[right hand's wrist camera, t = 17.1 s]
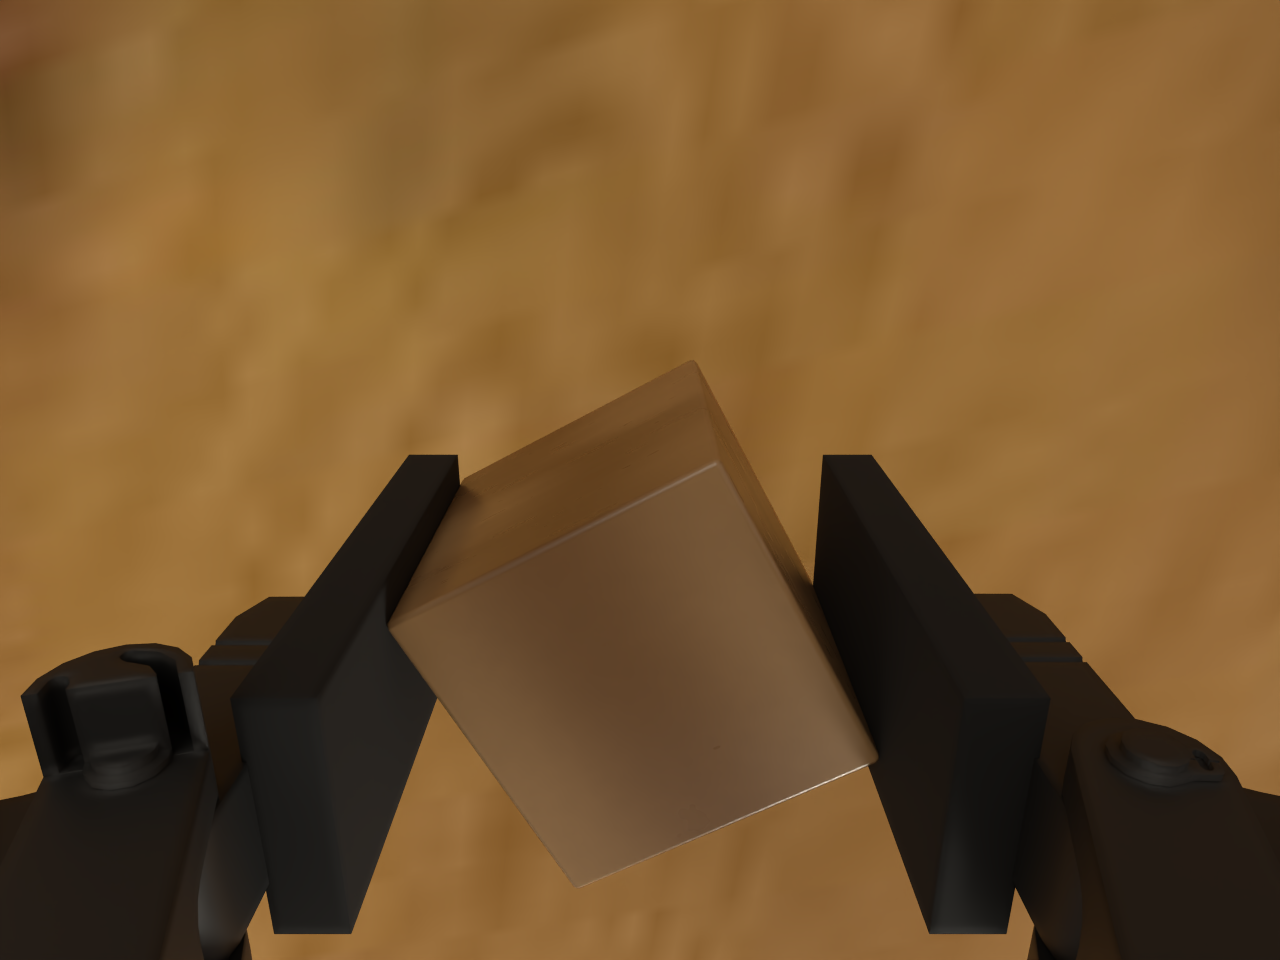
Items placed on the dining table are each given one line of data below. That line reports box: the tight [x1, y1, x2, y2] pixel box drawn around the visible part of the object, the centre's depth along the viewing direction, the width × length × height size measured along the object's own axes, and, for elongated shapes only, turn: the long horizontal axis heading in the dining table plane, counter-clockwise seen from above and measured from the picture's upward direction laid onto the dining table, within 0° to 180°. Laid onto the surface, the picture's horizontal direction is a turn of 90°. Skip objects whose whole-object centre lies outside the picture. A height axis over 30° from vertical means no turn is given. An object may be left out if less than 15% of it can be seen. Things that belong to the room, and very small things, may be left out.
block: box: [387, 360, 879, 888], centre depth 12 cm, size 4×4×5 cm
